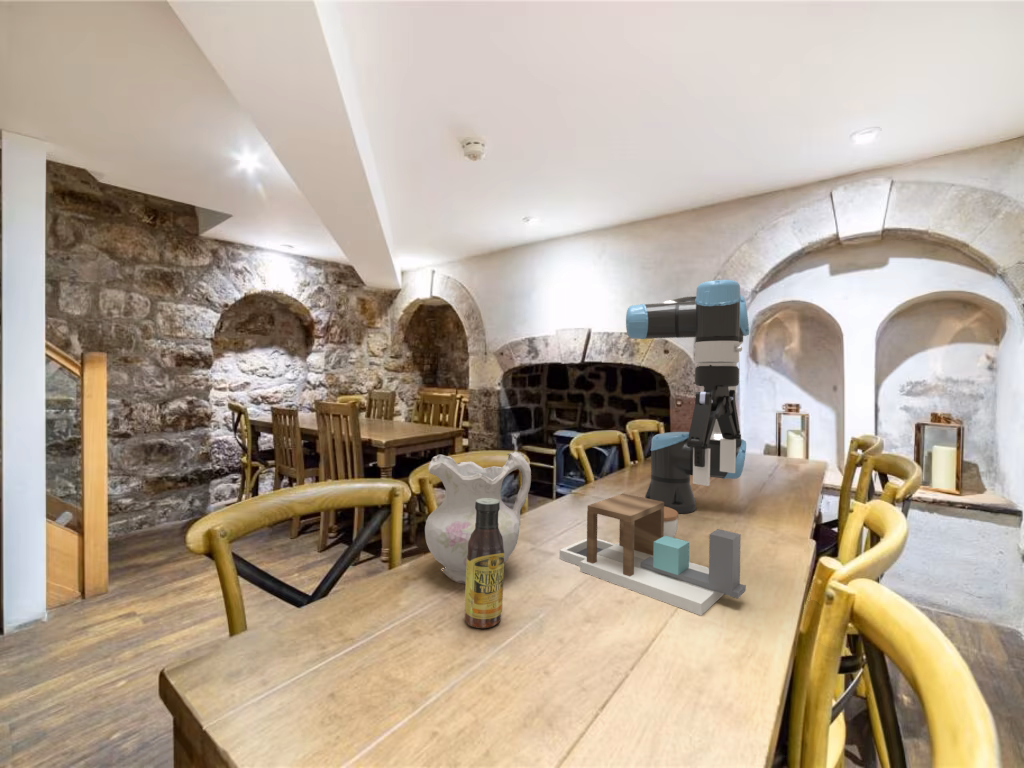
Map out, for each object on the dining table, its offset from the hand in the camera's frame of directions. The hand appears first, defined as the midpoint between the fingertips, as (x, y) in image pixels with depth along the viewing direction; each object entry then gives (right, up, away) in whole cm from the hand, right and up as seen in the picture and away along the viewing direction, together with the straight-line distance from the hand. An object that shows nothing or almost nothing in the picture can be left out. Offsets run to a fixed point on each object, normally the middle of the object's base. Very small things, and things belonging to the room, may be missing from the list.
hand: (715, 478), depth 86 cm
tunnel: (-14, -19, +11) cm, 26 cm away
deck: (-12, -21, +9) cm, 26 cm away
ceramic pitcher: (-45, -21, +9) cm, 51 cm away
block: (-7, -18, +4) cm, 20 cm away
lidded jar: (-3, -21, +26) cm, 34 cm away
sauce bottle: (-43, -22, -10) cm, 49 cm away
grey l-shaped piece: (-4, -19, +1) cm, 20 cm away
